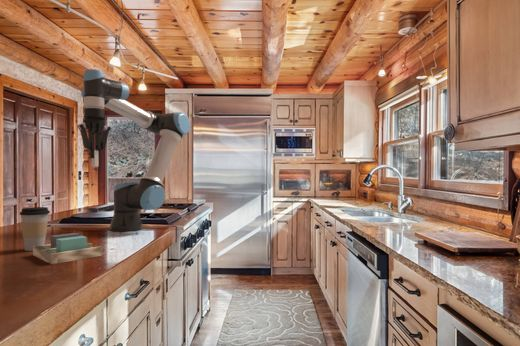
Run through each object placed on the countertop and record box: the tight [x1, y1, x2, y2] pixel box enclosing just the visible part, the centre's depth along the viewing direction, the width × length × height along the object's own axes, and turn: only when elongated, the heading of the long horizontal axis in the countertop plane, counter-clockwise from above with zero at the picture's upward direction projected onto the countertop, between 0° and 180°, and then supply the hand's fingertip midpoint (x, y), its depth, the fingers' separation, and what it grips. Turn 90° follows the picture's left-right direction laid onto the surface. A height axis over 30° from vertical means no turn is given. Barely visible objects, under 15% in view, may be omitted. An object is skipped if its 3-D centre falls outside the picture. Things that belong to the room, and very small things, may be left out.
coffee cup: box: [18, 206, 51, 252], centre depth 126 cm, size 9×9×15 cm
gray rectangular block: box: [50, 232, 81, 248], centre depth 120 cm, size 8×4×6 cm, turn 139°
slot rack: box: [32, 242, 104, 265], centre depth 117 cm, size 16×18×3 cm
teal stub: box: [56, 235, 88, 253], centre depth 114 cm, size 8×4×6 cm, turn 139°
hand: (95, 166), depth 141 cm, fingers closed
